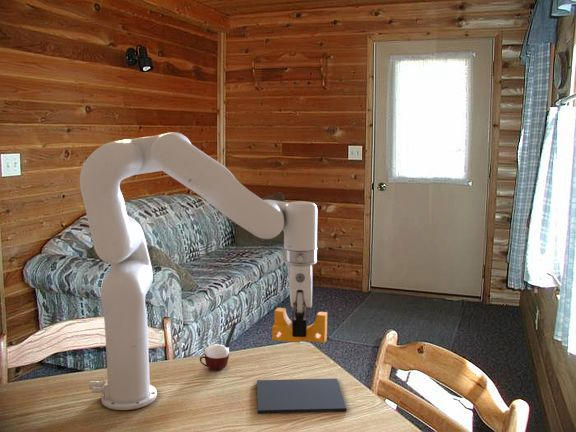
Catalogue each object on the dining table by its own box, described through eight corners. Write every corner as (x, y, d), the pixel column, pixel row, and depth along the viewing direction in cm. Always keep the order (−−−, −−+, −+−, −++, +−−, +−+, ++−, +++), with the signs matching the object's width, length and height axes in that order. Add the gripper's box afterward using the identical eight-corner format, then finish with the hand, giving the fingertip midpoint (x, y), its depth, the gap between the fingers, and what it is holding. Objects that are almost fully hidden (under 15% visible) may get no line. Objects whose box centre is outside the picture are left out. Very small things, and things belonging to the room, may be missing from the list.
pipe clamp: (272, 339, 144) (272, 313, 143) (277, 333, 148) (277, 307, 147) (322, 345, 141) (323, 318, 140) (326, 338, 145) (327, 312, 144)
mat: (257, 413, 138) (257, 410, 138) (257, 383, 154) (257, 380, 154) (346, 411, 140) (346, 408, 139) (336, 381, 155) (337, 378, 155)
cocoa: (199, 372, 160) (198, 328, 158) (202, 362, 167) (201, 319, 165) (235, 372, 160) (235, 328, 158) (237, 363, 167) (237, 320, 165)
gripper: (317, 265, 133) (316, 345, 136) (315, 248, 150) (314, 320, 153) (282, 264, 133) (282, 345, 136) (284, 247, 150) (283, 320, 153)
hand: (299, 331), depth 144 cm, fingers closed on pipe clamp, 4 cm apart
